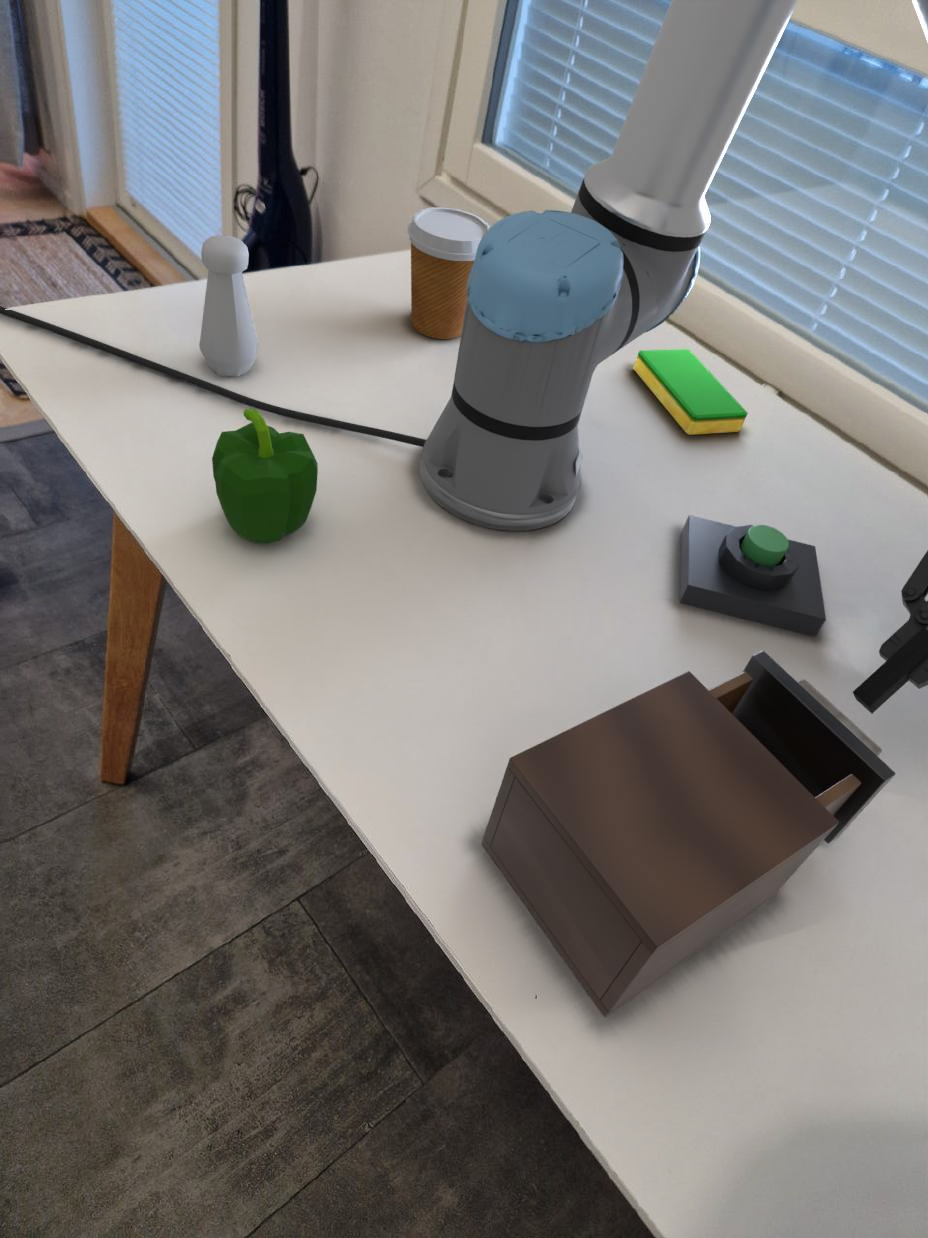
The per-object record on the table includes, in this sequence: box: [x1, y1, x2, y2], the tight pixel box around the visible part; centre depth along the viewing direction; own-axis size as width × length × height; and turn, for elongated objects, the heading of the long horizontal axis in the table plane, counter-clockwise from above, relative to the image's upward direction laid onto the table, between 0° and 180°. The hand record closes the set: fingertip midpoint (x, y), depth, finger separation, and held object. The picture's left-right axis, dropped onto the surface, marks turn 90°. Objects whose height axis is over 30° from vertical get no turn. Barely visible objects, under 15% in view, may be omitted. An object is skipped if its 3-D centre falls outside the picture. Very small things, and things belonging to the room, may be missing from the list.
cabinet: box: [481, 670, 839, 1018], centre depth 53 cm, size 15×13×10 cm
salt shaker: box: [198, 234, 259, 378], centre depth 85 cm, size 6×6×13 cm
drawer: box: [708, 650, 896, 845], centre depth 57 cm, size 18×11×8 cm, turn 124°
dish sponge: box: [633, 348, 749, 436], centre depth 99 cm, size 7×14×2 cm, turn 19°
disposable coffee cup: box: [407, 206, 491, 340], centre depth 98 cm, size 10×10×12 cm
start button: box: [741, 524, 789, 566], centre depth 75 cm, size 4×4×2 cm
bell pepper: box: [211, 407, 319, 544], centre depth 70 cm, size 8×8×10 cm
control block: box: [679, 514, 827, 638], centre depth 77 cm, size 12×10×4 cm
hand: (862, 702), depth 62 cm, fingers closed
